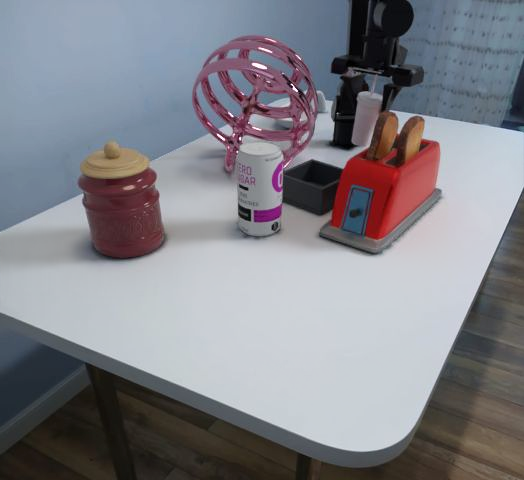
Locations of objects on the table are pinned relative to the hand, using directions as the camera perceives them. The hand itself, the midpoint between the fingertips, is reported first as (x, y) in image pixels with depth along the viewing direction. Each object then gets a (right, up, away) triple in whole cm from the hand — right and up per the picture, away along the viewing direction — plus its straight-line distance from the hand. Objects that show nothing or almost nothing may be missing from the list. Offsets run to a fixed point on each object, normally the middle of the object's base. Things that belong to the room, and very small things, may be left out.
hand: (369, 115), depth 105 cm
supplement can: (-23, -27, -11) cm, 37 cm away
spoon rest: (-11, +17, +40) cm, 45 cm away
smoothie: (-1, -4, +4) cm, 6 cm away
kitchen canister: (-47, -30, -15) cm, 58 cm away
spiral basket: (-24, -5, +14) cm, 28 cm away
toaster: (+2, -23, -6) cm, 24 cm away
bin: (-12, -18, 0) cm, 21 cm away
